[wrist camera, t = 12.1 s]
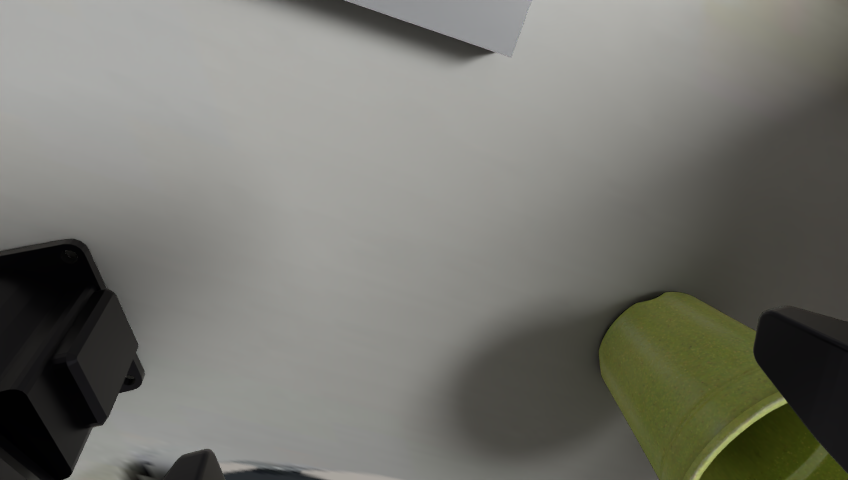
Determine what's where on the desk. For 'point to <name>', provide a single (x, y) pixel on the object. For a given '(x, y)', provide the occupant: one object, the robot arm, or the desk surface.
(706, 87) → the desk surface
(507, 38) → the baseplate
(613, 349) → the plant pot
